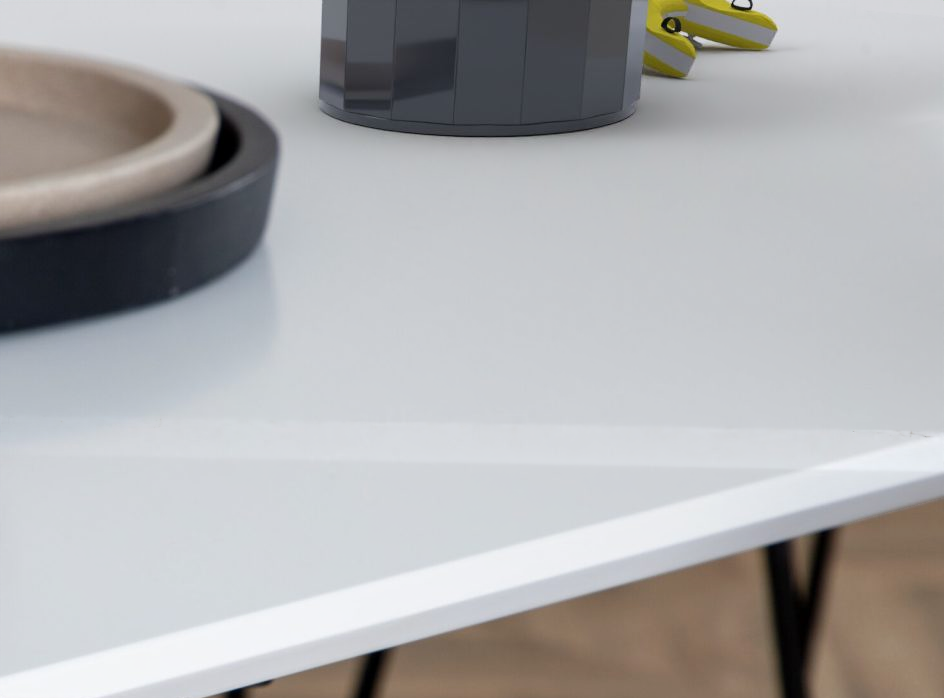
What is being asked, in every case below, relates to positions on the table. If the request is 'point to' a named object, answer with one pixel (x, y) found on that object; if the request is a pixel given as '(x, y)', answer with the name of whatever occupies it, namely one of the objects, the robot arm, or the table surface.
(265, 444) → the table surface
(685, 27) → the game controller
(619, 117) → the tin
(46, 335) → the table surface
